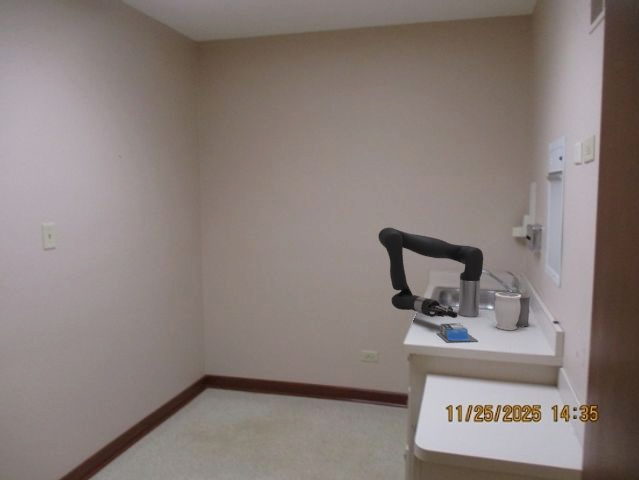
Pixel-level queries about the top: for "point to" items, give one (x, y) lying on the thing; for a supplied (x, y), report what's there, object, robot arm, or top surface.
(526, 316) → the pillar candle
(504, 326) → the jar
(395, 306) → the robot arm
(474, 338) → the mat
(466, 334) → the label tape box
